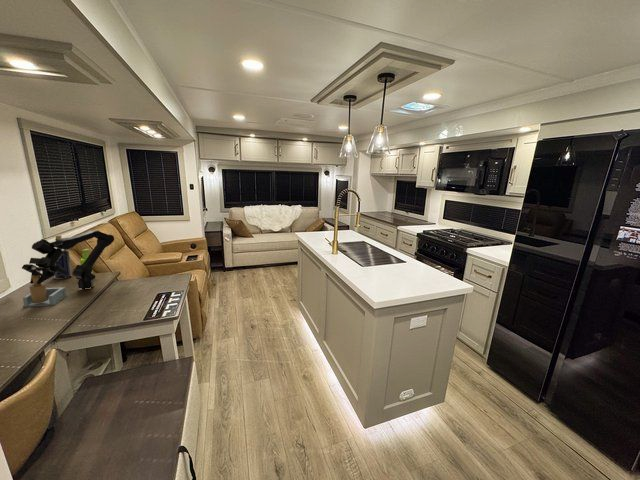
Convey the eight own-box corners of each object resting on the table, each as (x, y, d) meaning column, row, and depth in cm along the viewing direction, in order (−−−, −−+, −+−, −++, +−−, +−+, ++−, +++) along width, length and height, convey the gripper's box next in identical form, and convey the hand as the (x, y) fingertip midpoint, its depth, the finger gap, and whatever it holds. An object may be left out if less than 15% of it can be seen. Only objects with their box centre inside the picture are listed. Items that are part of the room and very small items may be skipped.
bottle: (60, 280, 177) (55, 237, 171) (50, 278, 179) (44, 235, 173) (75, 275, 186) (71, 235, 180) (65, 274, 187) (60, 233, 181)
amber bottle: (50, 298, 146) (46, 272, 143) (43, 302, 141) (39, 276, 138) (36, 298, 144) (32, 273, 141) (29, 303, 139) (24, 277, 136)
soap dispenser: (96, 275, 190) (93, 248, 186) (87, 278, 184) (84, 250, 180) (89, 274, 191) (86, 247, 187) (79, 277, 184) (76, 250, 180)
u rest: (37, 297, 151) (36, 288, 150) (66, 295, 156) (65, 287, 155) (23, 307, 140) (21, 297, 139) (54, 305, 145) (53, 295, 143)
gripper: (22, 250, 140) (2, 276, 132) (58, 252, 141) (40, 278, 133) (39, 259, 150) (21, 284, 141) (72, 262, 151) (56, 287, 142)
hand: (34, 283), depth 139 cm, fingers closed on amber bottle, 3 cm apart
